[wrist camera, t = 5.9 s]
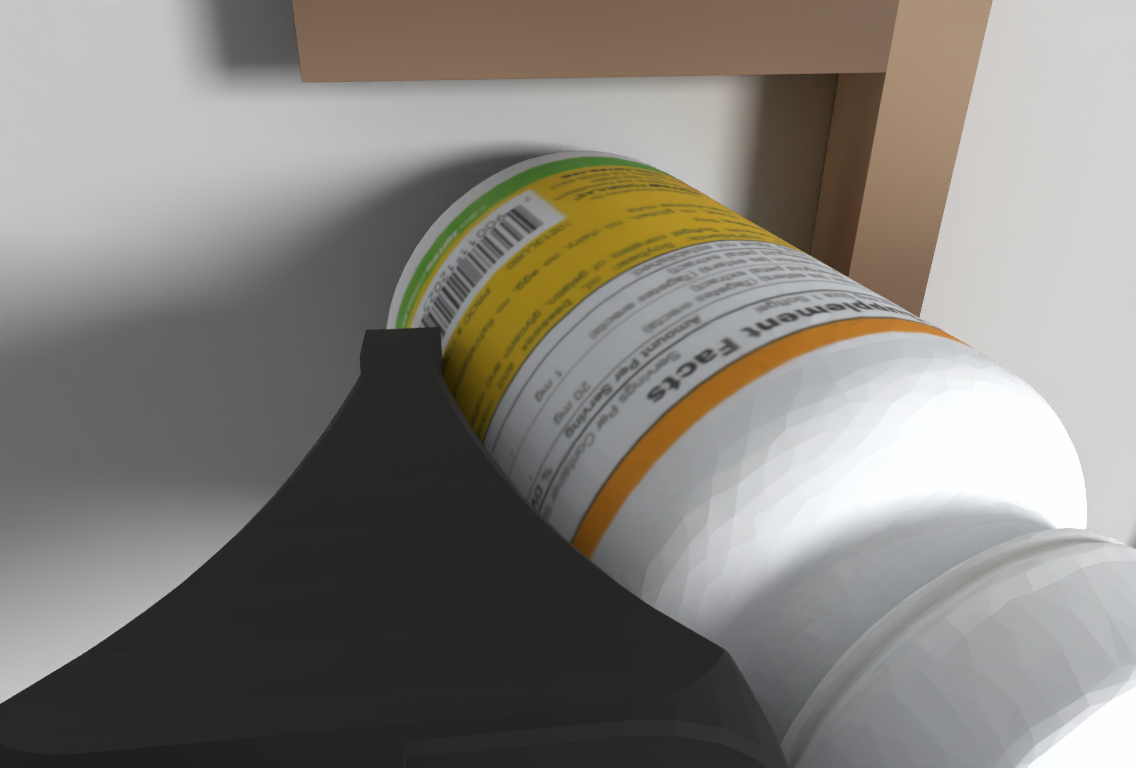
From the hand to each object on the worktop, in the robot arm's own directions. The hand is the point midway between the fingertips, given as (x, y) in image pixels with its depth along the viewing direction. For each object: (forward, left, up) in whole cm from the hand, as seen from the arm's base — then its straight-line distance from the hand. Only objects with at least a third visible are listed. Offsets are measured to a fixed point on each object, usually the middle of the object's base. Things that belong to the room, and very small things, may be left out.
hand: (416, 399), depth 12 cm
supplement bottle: (-1, -2, -3) cm, 4 cm away
